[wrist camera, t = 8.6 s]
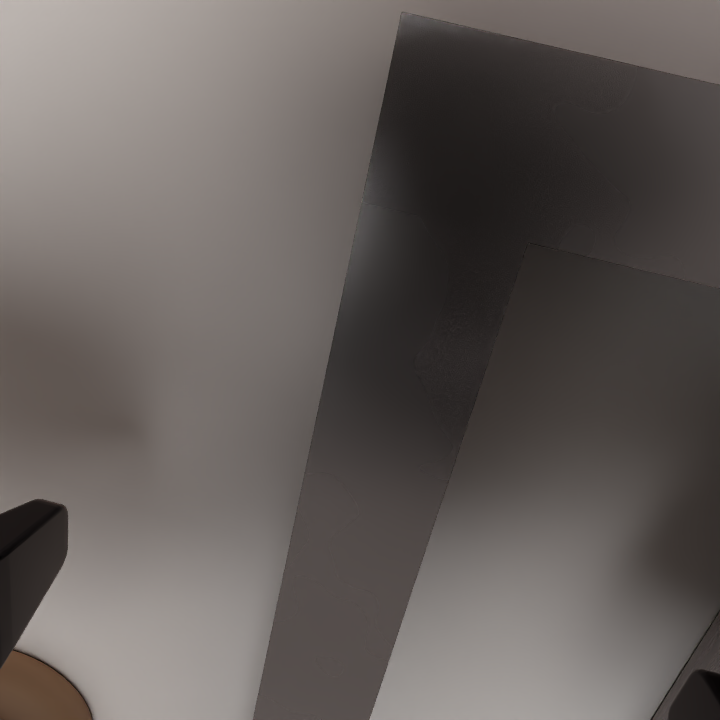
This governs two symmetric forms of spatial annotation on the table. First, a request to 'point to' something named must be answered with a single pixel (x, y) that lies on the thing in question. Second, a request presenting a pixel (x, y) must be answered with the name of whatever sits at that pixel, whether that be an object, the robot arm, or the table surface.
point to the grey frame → (466, 310)
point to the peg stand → (37, 692)
